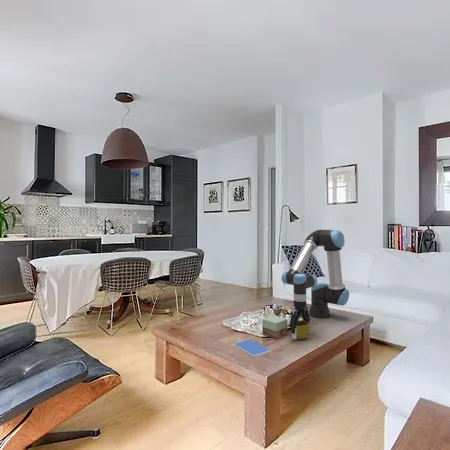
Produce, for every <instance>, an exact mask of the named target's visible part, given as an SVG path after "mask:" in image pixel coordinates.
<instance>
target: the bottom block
mask: <svg viewBox="0 0 450 450" xmlns="http://www.w3.org/2000/svg"><path fill="white" fill-rule="evenodd" d="M261 328H262V331H261V332H262V333H263V334H265V335H264V336H266V335H267V336H266V337H269V338H272V339H275V340H278V339H280V338H283V337H284V336H287V335H288V326H287V327H286V328H284V329H281V330H279V331H273V330H270V329H267V328H264V327H261ZM263 334H262V335H263Z"/></svg>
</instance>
